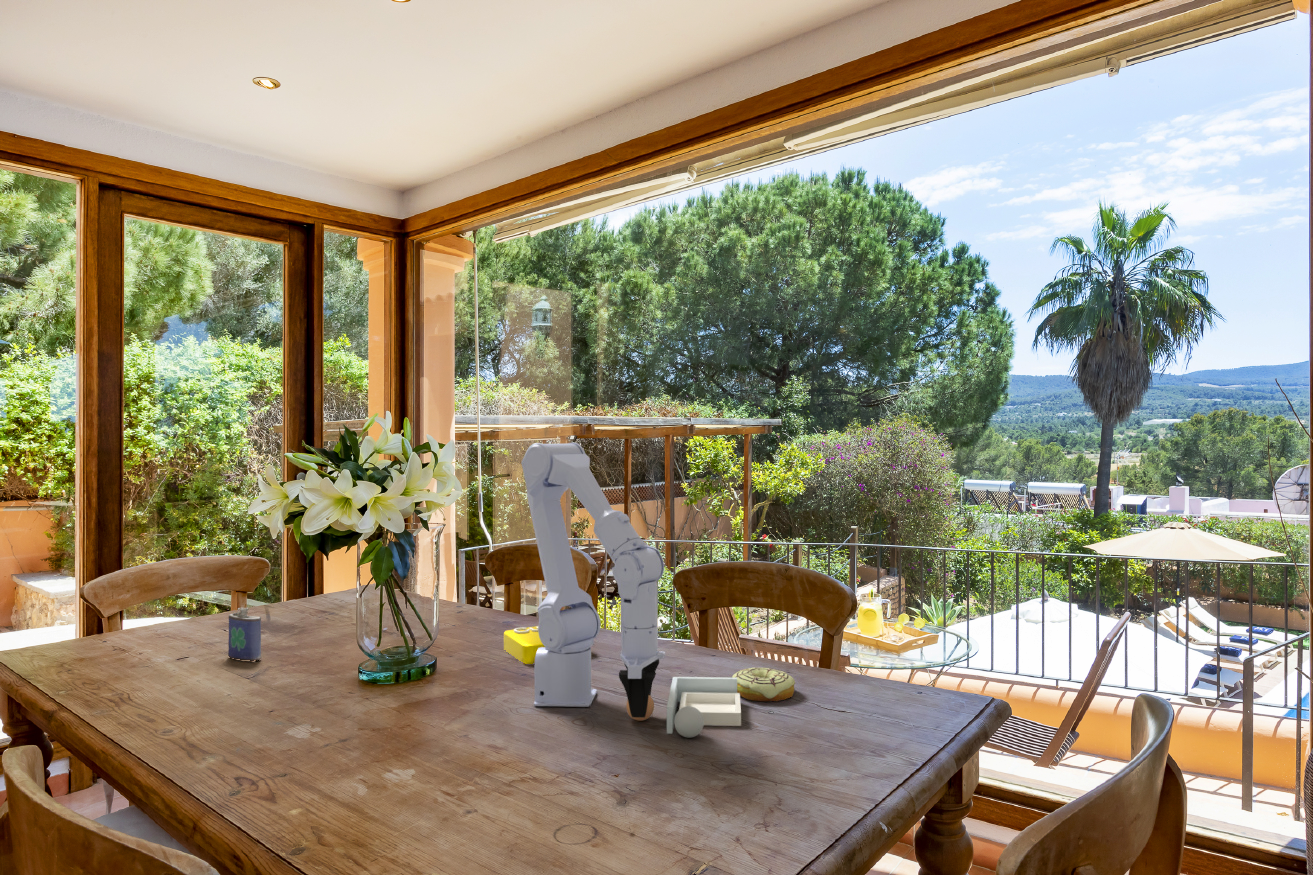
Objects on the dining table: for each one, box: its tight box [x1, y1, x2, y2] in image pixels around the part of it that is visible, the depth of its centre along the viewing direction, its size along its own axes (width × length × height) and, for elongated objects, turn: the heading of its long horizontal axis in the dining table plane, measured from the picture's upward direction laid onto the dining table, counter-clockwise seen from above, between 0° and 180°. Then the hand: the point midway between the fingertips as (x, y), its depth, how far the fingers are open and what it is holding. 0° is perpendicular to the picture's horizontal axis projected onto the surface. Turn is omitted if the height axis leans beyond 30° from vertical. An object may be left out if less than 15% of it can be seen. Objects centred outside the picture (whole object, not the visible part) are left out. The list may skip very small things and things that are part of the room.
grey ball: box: [674, 706, 705, 739], centre depth 116 cm, size 4×4×4 cm
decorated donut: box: [731, 666, 796, 702], centre depth 135 cm, size 10×11×4 cm
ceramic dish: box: [678, 692, 742, 727], centre depth 125 cm, size 10×10×2 cm
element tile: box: [503, 625, 545, 665], centre depth 164 cm, size 15×15×5 cm
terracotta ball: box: [625, 695, 655, 722], centre depth 123 cm, size 4×4×4 cm
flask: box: [227, 607, 262, 661], centre depth 161 cm, size 9×3×11 cm, turn 61°
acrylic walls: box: [666, 676, 737, 735], centre depth 124 cm, size 11×15×4 cm
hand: (640, 710), depth 123 cm, fingers closed on terracotta ball, 4 cm apart
